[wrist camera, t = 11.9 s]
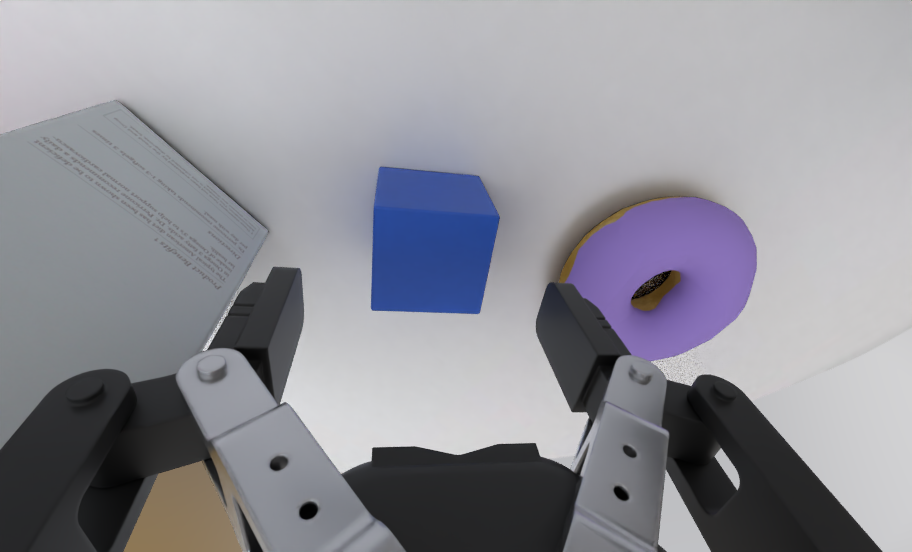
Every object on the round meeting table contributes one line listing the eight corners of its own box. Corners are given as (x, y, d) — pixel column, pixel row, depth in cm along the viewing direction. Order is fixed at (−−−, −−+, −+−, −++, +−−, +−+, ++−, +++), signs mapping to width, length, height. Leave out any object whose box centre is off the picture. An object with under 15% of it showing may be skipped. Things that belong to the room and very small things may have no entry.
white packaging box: (7, 207, 16) (-699, 546, 6) (119, 93, 15) (-584, 281, 4) (172, 315, 20) (-77, 641, 10) (277, 234, 18) (114, 522, 8)
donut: (738, 152, 19) (824, 212, 15) (702, 280, 25) (756, 342, 22) (532, 221, 19) (570, 293, 16) (550, 328, 26) (579, 395, 22)
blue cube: (479, 175, 18) (500, 216, 14) (465, 260, 20) (480, 314, 17) (379, 166, 17) (373, 206, 14) (375, 255, 20) (370, 311, 16)
